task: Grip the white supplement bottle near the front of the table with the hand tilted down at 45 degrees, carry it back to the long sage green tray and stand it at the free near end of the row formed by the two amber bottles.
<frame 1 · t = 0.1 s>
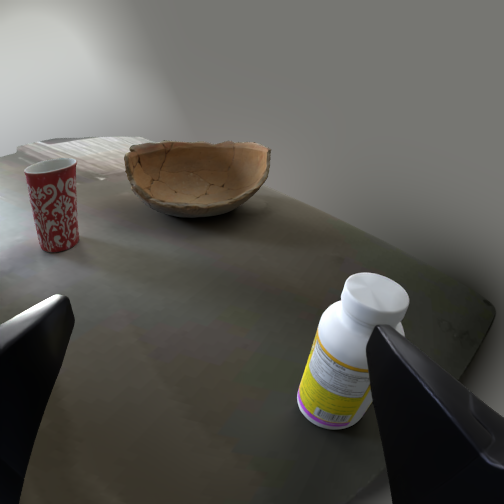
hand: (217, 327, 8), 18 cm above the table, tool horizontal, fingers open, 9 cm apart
mug: (56, 240, 47), on the table
supplement bottle: (329, 404, 26), on the table
ceramic bowl: (196, 202, 67), on the table
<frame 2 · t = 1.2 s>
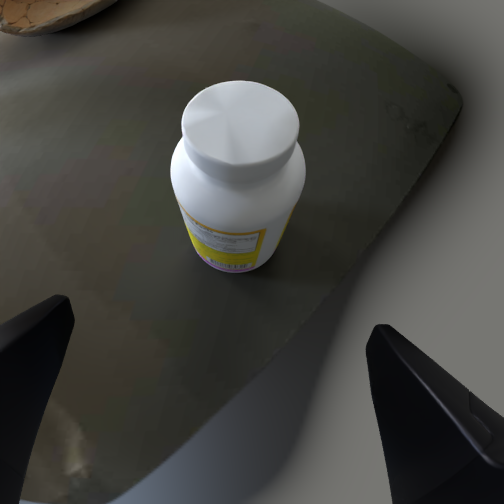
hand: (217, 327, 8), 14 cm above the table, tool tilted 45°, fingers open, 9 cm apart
supplement bottle: (234, 233, 24), on the table
ceramic bowl: (82, 4, 35), on the table
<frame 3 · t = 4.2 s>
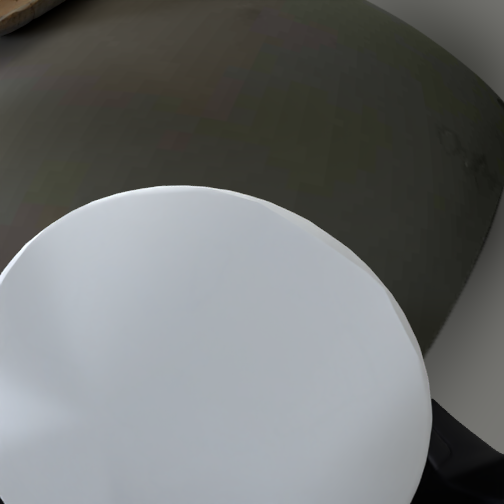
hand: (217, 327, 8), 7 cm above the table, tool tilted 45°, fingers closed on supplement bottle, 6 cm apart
supplement bottle: (220, 363, 14), on the table, touching gripper
when the fingers open (7 cm above the table, at t = 12.6 s): supplement bottle stays where it is, resting on tray.
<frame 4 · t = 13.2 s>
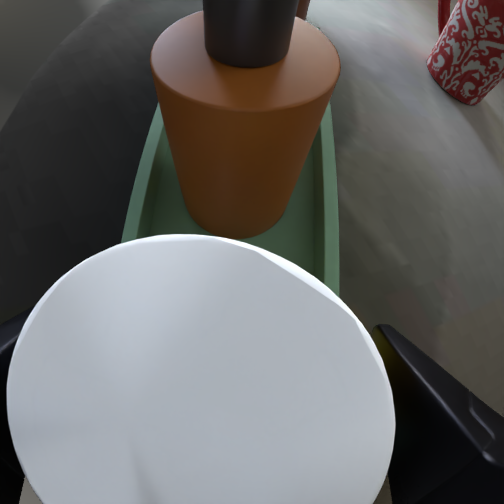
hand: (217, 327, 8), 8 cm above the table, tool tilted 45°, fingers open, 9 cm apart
tray: (235, 194, 18), on the table
mug: (445, 71, 25), on the table
supplement bottle: (220, 365, 15), resting on tray
amber bottle: (236, 189, 18), point 1 cm above the table, touching tray
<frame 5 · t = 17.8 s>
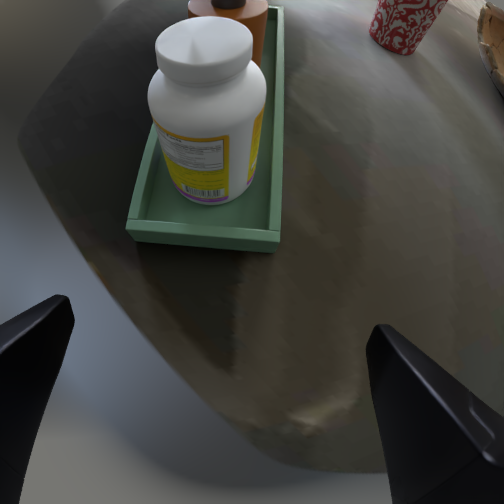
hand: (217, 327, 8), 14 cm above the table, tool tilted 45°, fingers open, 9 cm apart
tray: (225, 93, 28), on the table
mug: (386, 34, 35), on the table
supplement bottle: (212, 172, 24), resting on tray
amber bottle: (225, 88, 27), point 1 cm above the table, touching tray
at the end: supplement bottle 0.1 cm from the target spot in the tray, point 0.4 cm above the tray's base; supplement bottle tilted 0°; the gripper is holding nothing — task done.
